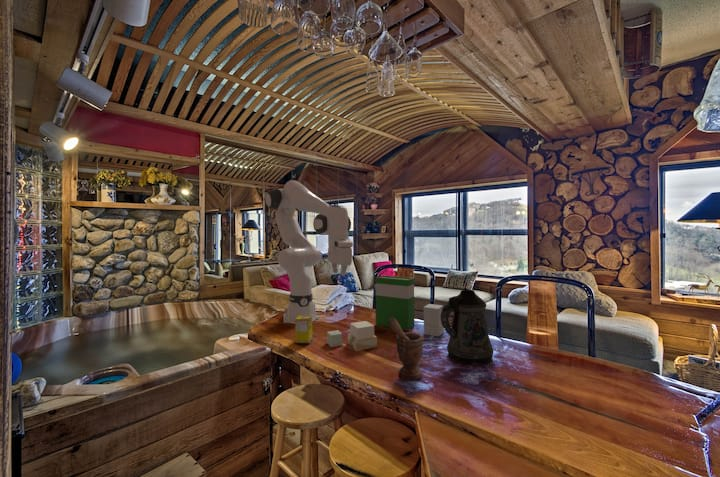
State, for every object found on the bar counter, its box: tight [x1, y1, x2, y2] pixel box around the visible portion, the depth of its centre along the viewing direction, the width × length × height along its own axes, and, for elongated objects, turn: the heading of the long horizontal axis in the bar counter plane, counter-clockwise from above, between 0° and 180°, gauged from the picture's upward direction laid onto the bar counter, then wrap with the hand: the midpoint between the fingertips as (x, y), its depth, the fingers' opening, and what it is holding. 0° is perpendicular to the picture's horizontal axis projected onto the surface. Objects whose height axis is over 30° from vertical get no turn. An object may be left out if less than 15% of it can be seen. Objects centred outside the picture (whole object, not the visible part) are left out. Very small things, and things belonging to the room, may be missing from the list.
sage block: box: [326, 329, 343, 348], centre depth 134 cm, size 5×5×5 cm
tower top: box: [349, 320, 375, 339], centre depth 132 cm, size 8×8×4 cm
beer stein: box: [440, 289, 494, 366], centre depth 118 cm, size 16×19×25 cm
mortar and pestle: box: [388, 317, 424, 381], centre depth 103 cm, size 12×9×20 cm
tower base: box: [347, 332, 378, 351], centre depth 132 cm, size 9×9×4 cm
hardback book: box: [375, 274, 415, 331], centre depth 158 cm, size 18×7×24 cm, turn 59°
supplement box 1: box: [294, 315, 313, 345], centre depth 136 cm, size 6×6×11 cm
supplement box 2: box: [422, 303, 445, 337], centre depth 146 cm, size 7×7×13 cm
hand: (339, 274), depth 138 cm, fingers open, 8 cm apart
